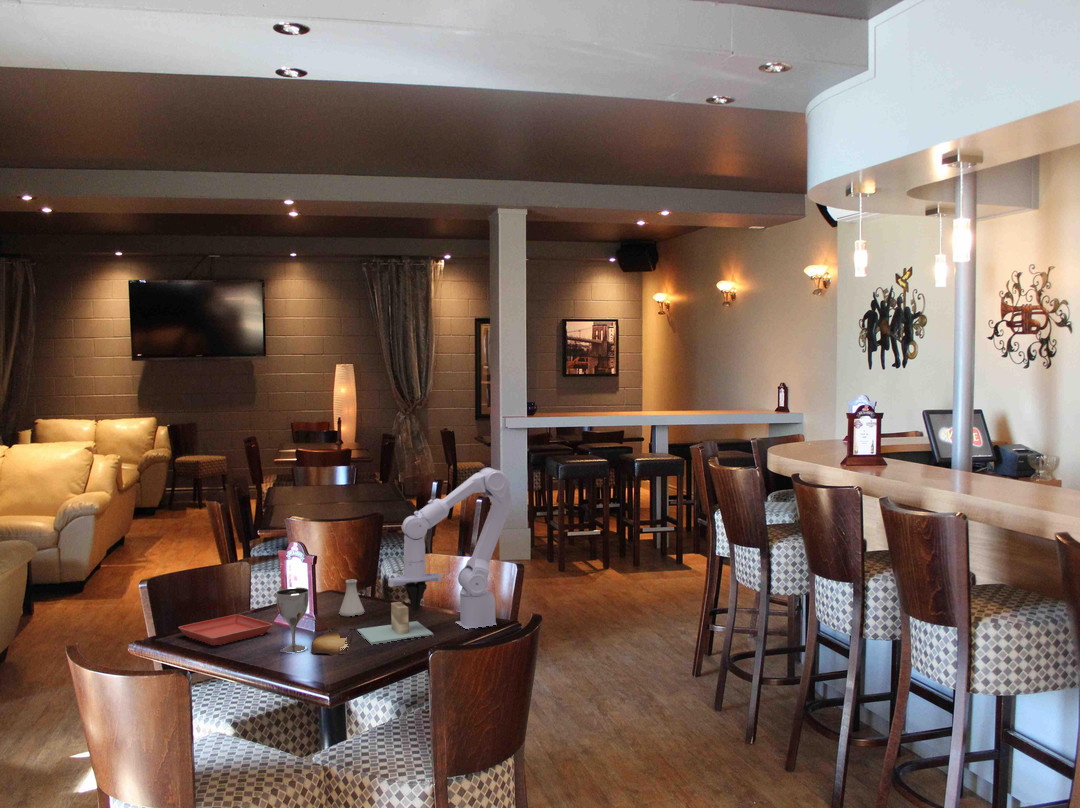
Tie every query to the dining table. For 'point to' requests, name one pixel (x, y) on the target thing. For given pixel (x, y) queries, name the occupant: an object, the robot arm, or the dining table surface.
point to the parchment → (329, 643)
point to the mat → (392, 633)
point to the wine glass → (293, 610)
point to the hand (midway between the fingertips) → (415, 610)
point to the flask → (351, 600)
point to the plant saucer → (225, 629)
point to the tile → (400, 618)
